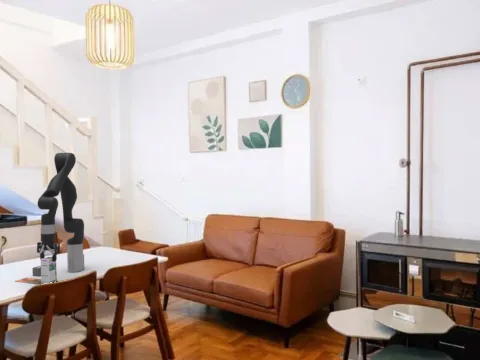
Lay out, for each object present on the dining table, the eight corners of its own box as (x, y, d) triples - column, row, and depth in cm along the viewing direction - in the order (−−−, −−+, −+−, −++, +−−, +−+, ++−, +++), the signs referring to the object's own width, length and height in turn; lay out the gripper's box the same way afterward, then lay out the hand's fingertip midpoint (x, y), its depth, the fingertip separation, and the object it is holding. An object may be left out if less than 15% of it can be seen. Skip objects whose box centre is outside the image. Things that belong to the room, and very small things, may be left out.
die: (39, 273, 242) (39, 265, 242) (45, 274, 241) (45, 266, 241) (32, 276, 238) (32, 267, 238) (38, 276, 236) (38, 268, 236)
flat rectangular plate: (26, 277, 233) (26, 277, 233) (60, 281, 225) (60, 281, 225) (14, 281, 226) (14, 281, 226) (48, 285, 217) (48, 285, 217)
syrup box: (48, 285, 219) (48, 259, 218) (40, 283, 221) (40, 258, 220) (56, 282, 224) (56, 257, 224) (49, 281, 226) (48, 256, 226)
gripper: (63, 232, 223) (63, 260, 223) (43, 230, 228) (43, 258, 228) (52, 234, 216) (52, 263, 216) (32, 232, 221) (33, 261, 221)
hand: (48, 261), depth 222 cm, fingers open, 8 cm apart
